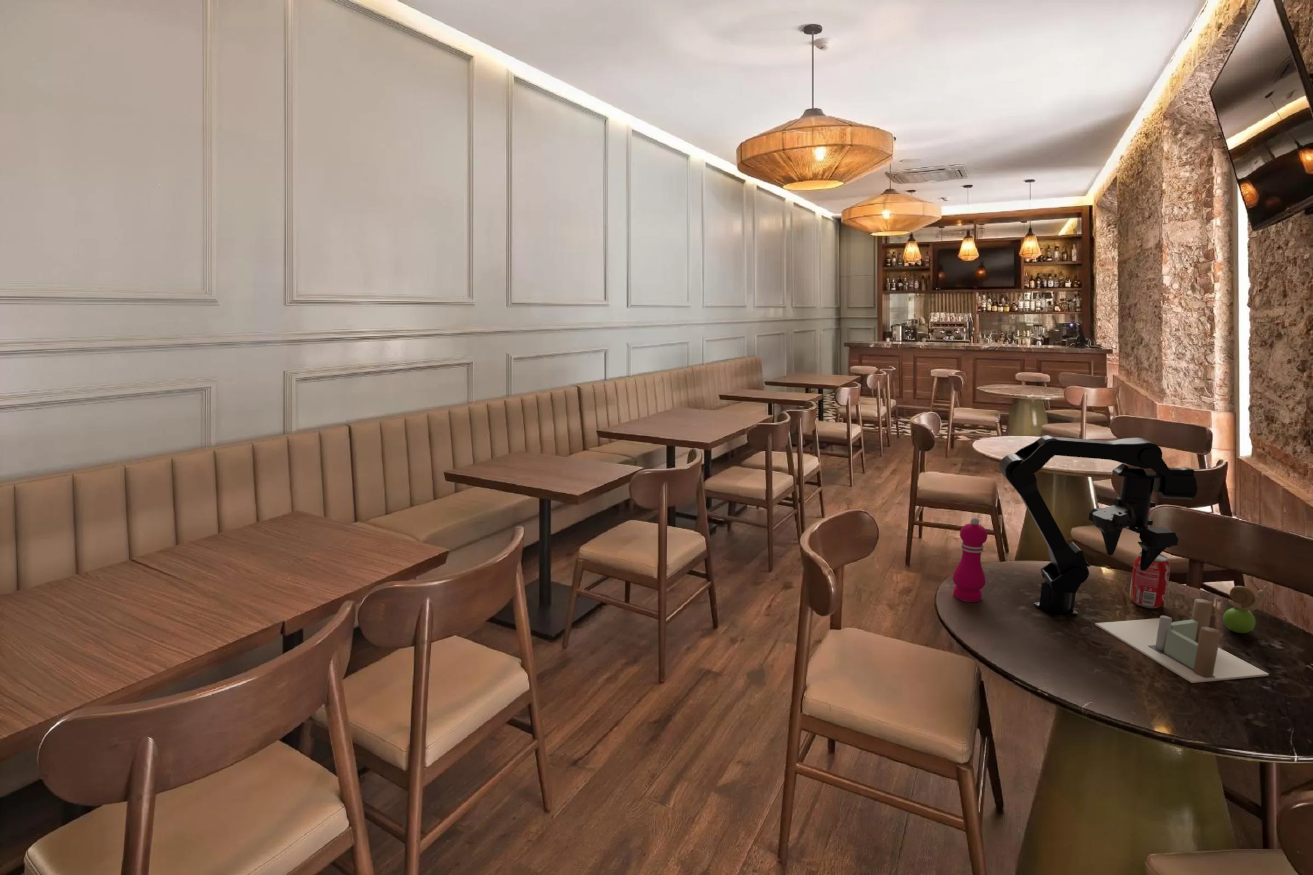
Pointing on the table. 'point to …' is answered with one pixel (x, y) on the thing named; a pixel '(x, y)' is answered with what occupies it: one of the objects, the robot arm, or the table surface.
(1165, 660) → the card
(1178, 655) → the fence fixed
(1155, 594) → the soda can
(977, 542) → the pepper mill
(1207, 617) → the fence gate
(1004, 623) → the table surface
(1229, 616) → the snail figurine
